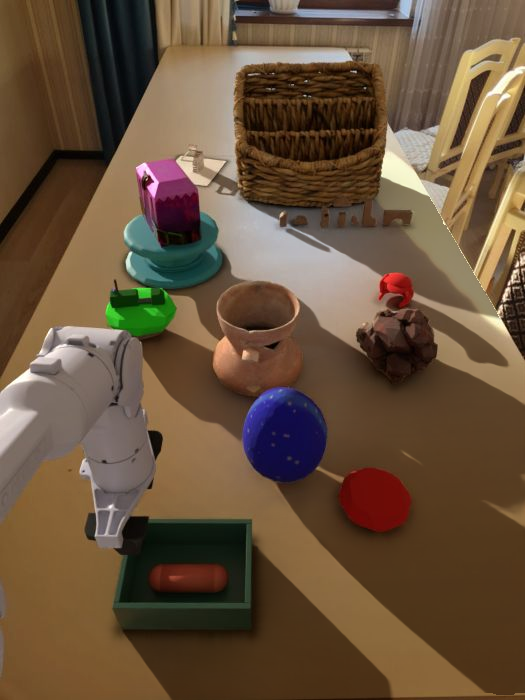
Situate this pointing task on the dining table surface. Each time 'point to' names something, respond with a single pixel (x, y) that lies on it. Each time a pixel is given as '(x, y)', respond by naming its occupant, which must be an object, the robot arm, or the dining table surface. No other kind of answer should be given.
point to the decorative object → (170, 230)
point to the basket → (309, 132)
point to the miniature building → (140, 311)
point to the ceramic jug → (257, 338)
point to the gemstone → (375, 499)
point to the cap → (397, 286)
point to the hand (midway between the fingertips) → (136, 517)
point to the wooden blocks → (366, 216)
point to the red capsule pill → (188, 578)
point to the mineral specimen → (398, 342)
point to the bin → (188, 548)
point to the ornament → (284, 435)
